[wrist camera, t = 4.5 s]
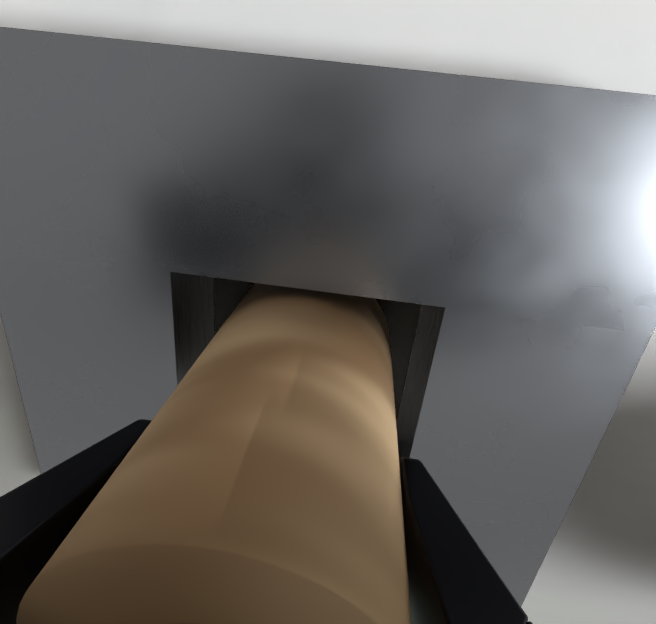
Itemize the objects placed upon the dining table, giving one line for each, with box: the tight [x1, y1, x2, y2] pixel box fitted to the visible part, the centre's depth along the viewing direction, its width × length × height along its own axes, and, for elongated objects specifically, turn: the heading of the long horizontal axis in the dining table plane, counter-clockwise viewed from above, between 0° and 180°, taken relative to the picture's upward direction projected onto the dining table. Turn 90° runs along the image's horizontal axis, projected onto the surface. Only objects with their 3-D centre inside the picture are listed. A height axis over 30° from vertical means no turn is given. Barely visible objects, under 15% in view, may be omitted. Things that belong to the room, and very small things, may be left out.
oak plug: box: [16, 283, 412, 624], centre depth 9 cm, size 5×5×9 cm
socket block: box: [0, 27, 656, 606], centre depth 13 cm, size 16×16×3 cm
